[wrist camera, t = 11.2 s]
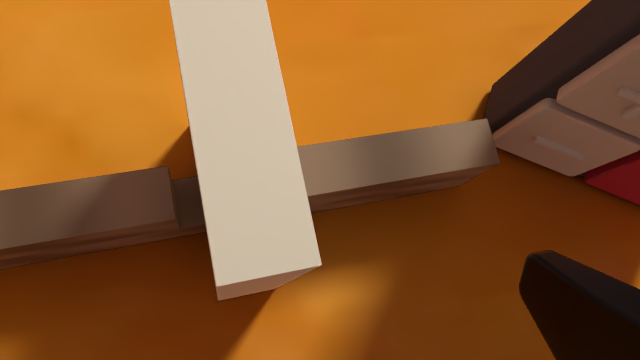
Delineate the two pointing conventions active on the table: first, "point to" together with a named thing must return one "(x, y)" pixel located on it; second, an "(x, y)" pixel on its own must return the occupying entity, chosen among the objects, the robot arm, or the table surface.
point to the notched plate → (243, 146)
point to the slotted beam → (185, 199)
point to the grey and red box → (578, 100)
